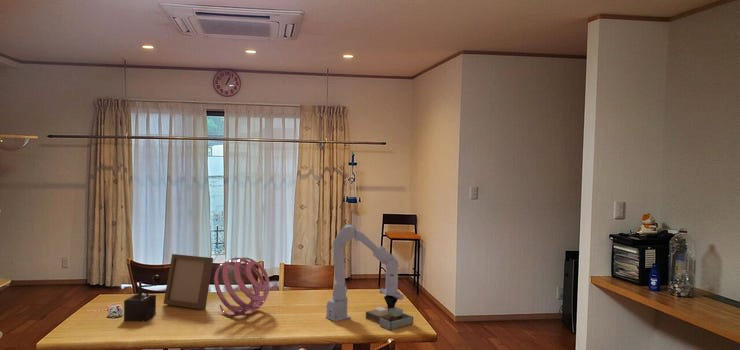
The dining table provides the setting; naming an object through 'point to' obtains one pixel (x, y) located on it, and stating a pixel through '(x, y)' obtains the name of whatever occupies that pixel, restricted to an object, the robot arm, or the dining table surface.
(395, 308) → the sage tile
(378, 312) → the beige block
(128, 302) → the manual coffee grinder
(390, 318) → the board
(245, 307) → the spiral basket
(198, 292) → the photo frame
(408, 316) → the tray
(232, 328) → the dining table surface
